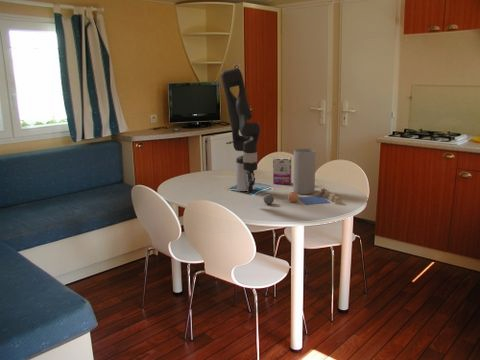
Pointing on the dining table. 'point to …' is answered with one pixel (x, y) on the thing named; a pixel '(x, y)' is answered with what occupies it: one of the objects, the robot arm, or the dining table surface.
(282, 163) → the candy bar box
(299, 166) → the cylinder vase
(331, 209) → the dining table surface
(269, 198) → the grey ball
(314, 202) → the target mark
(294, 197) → the object ball
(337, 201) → the stopper
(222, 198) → the dining table surface
